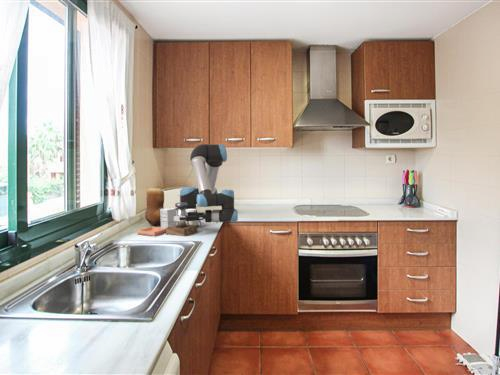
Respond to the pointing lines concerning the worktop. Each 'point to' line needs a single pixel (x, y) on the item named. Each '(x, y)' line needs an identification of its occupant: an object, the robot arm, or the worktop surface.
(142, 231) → the tray
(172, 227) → the bore block
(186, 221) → the spread jar
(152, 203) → the butternut squash
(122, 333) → the worktop surface
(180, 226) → the metal plug
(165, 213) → the supplement box
